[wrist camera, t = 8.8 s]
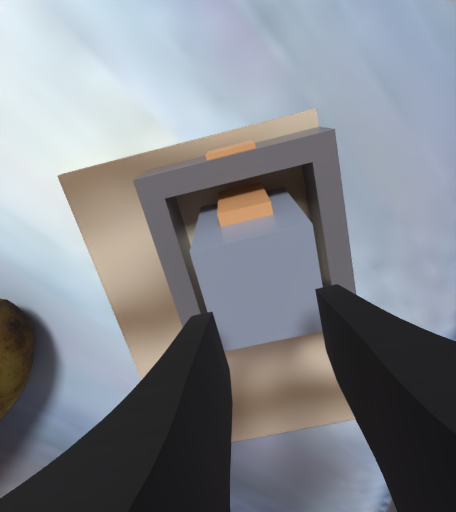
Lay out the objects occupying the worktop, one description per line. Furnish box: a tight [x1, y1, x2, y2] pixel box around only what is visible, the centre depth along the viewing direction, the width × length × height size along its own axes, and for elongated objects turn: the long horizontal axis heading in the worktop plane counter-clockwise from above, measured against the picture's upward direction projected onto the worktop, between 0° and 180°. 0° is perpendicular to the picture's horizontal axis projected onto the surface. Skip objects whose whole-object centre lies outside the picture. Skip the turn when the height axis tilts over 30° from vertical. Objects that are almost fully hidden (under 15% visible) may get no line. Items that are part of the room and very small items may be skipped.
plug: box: [190, 182, 323, 351], centre depth 15 cm, size 4×4×6 cm
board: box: [58, 109, 355, 442], centre depth 20 cm, size 18×12×1 cm, turn 14°
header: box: [133, 127, 356, 327], centre depth 17 cm, size 9×8×2 cm
